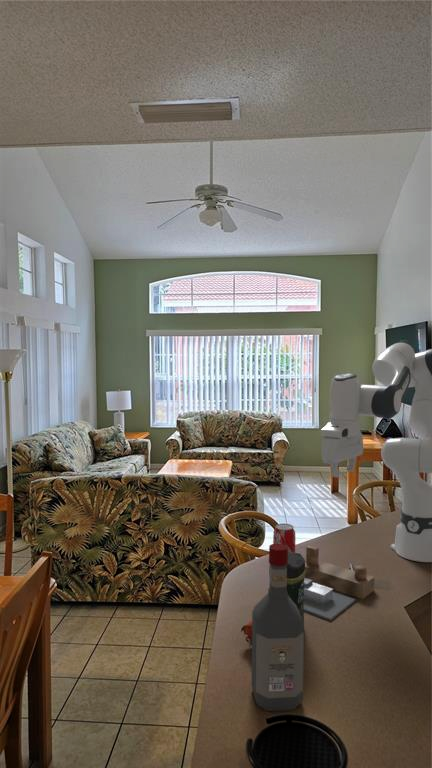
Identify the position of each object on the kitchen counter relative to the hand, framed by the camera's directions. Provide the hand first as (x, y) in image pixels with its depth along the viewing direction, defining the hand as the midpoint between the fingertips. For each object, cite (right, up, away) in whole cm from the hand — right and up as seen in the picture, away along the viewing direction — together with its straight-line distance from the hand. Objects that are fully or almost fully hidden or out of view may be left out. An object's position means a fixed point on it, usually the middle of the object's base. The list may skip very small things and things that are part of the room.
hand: (343, 473), depth 157 cm
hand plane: (-3, -31, -5) cm, 32 cm away
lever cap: (-12, -31, -14) cm, 36 cm away
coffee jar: (-21, -33, -30) cm, 49 cm away
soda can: (-16, -31, +11) cm, 36 cm away
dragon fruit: (-27, -34, -38) cm, 58 cm away
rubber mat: (-12, -32, -15) cm, 37 cm away
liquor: (-26, -35, -55) cm, 70 cm away
